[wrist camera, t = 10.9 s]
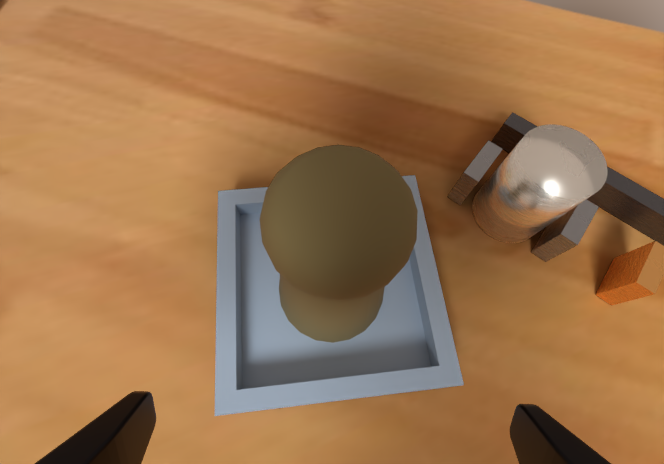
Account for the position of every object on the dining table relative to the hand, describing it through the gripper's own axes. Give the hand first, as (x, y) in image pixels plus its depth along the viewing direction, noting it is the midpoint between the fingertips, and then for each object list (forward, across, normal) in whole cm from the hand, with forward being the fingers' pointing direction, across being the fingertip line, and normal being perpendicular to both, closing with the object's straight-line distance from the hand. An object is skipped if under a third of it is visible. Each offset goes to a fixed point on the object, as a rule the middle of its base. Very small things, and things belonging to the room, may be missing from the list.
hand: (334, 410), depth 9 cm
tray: (+12, 0, +4) cm, 12 cm away
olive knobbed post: (+12, 0, +3) cm, 12 cm away
